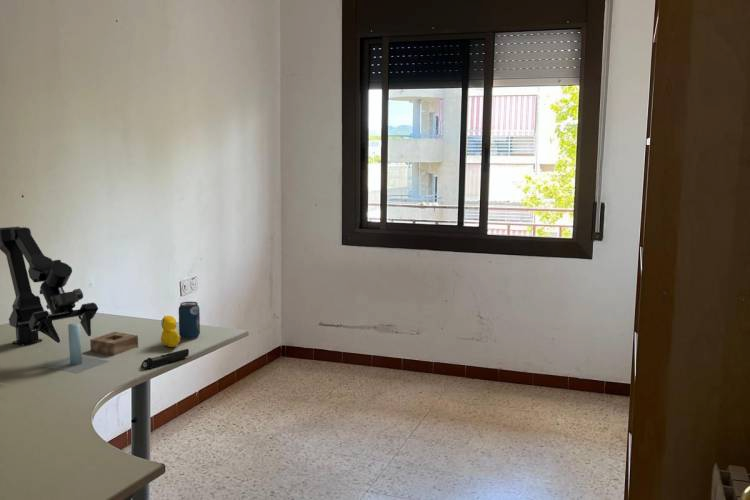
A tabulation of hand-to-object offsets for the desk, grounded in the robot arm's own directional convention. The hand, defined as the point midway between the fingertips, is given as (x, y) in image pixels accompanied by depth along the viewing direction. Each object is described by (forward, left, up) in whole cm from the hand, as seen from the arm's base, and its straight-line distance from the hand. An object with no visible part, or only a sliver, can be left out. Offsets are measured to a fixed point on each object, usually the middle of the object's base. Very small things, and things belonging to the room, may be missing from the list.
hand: (74, 338), depth 187 cm
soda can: (+11, +38, -8) cm, 40 cm away
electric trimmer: (+22, +13, -8) cm, 27 cm away
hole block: (-1, +16, -8) cm, 18 cm away
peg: (0, 0, -8) cm, 8 cm away
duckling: (+12, +27, -8) cm, 31 cm away
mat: (0, 0, -8) cm, 8 cm away
